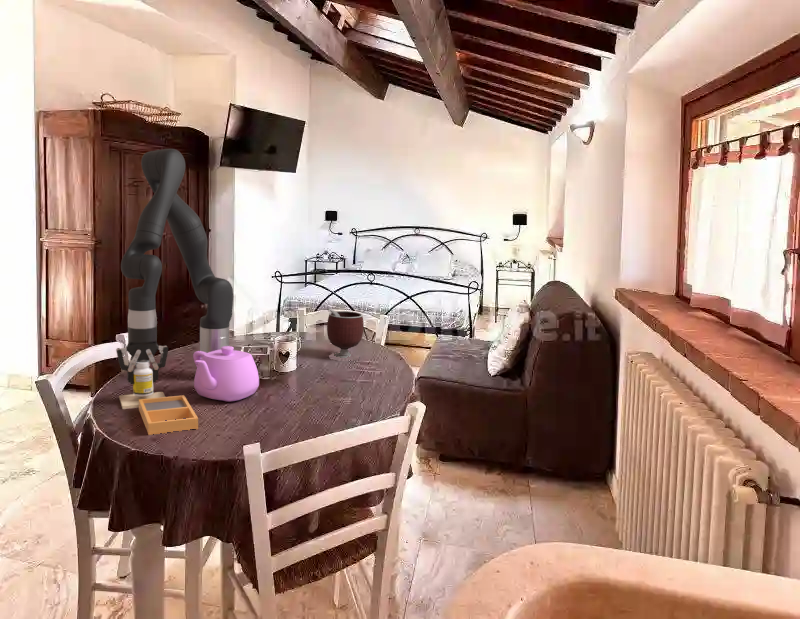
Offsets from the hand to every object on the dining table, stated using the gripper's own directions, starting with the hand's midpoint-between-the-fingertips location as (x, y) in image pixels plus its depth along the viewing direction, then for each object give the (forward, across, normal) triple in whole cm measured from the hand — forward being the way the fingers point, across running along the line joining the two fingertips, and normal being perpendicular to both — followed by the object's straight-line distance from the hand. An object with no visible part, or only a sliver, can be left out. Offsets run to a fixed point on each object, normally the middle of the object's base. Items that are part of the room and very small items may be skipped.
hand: (143, 382), depth 182 cm
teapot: (+6, -23, +2) cm, 24 cm away
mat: (+6, 0, 0) cm, 6 cm away
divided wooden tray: (+6, -4, +17) cm, 18 cm away
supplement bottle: (+4, 0, 0) cm, 4 cm away
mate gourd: (+6, -75, -30) cm, 81 cm away
